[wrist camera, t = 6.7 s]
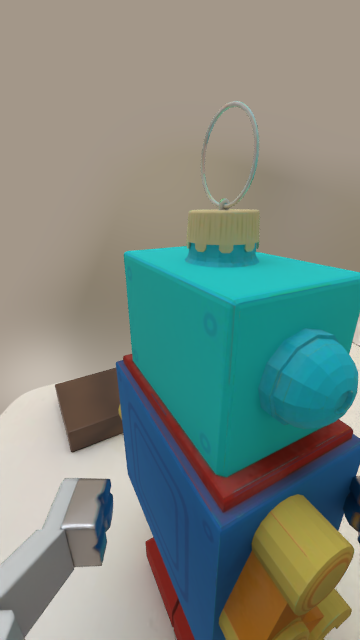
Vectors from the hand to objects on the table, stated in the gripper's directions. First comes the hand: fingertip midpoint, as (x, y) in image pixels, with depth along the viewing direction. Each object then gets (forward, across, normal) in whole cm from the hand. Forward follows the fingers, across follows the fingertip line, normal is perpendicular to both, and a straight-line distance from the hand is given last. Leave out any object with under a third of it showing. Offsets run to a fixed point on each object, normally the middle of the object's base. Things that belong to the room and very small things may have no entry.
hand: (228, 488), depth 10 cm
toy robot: (+2, 0, +14) cm, 14 cm away
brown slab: (+24, +4, +14) cm, 28 cm away
